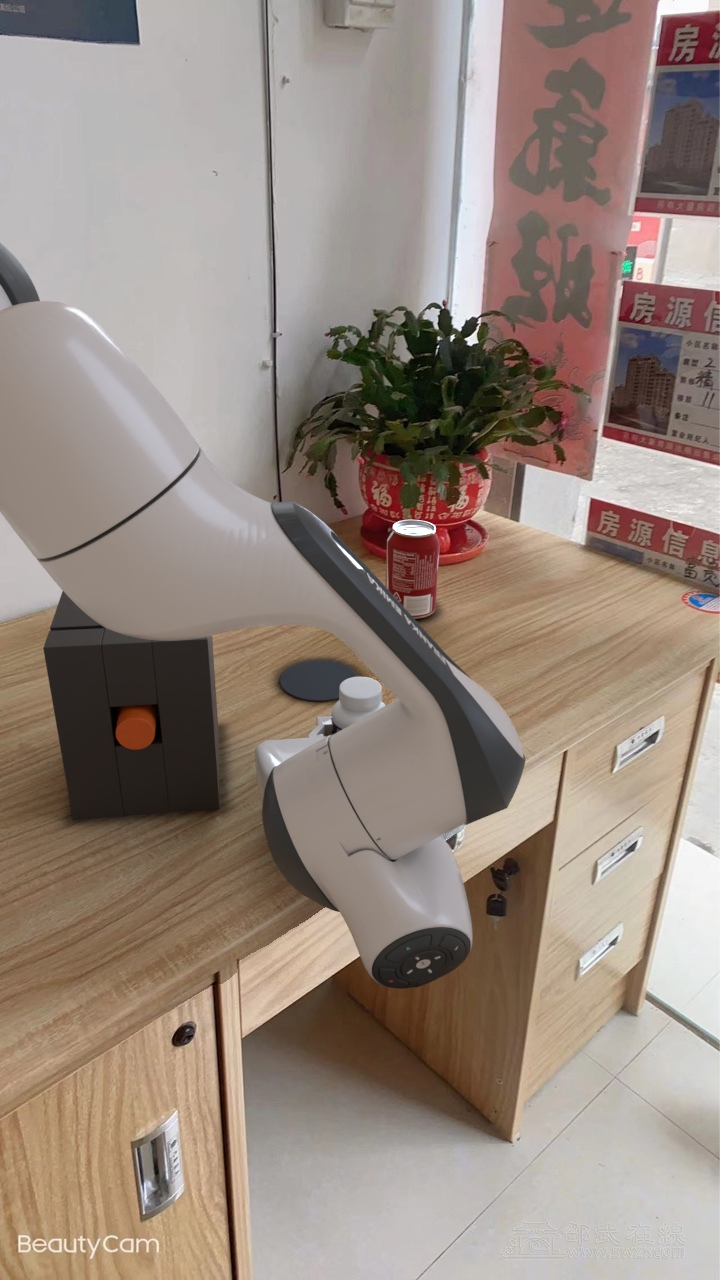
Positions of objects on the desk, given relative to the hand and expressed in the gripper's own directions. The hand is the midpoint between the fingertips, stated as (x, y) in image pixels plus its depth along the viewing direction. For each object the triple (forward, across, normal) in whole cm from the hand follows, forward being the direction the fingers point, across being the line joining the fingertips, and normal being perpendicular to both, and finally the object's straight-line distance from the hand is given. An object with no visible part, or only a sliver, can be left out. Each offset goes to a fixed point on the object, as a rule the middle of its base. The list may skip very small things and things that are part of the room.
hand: (357, 719), depth 85 cm
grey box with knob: (+1, +20, +6) cm, 21 cm away
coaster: (+16, +2, +6) cm, 17 cm away
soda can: (+33, -12, +6) cm, 36 cm away
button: (-5, +20, -3) cm, 21 cm away
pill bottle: (-1, 0, +6) cm, 6 cm away
